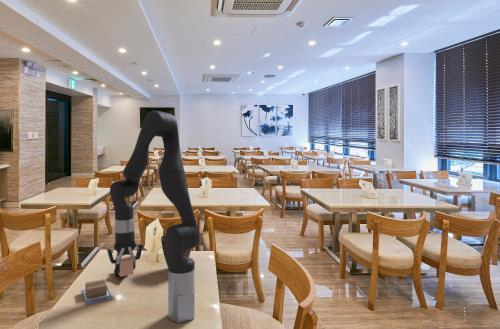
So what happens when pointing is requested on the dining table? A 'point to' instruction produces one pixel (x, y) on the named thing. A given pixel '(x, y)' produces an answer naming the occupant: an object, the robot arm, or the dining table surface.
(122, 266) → the terracotta block
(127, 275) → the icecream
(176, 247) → the robot arm
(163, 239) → the plant pot
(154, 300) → the dining table surface
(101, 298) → the blueprint mat
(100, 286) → the walnut base
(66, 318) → the dining table surface
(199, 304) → the dining table surface
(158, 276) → the dining table surface
